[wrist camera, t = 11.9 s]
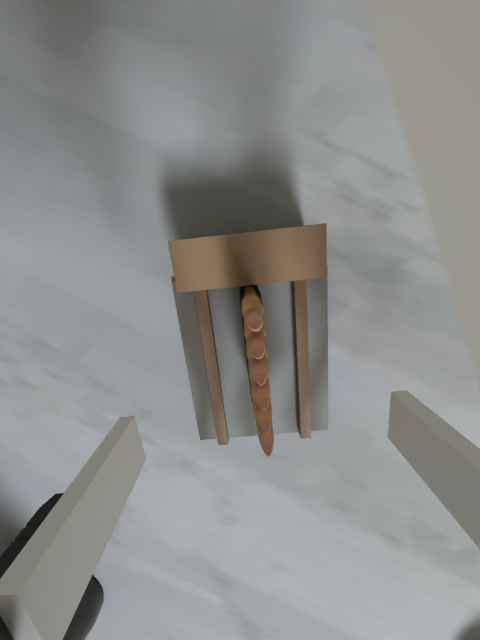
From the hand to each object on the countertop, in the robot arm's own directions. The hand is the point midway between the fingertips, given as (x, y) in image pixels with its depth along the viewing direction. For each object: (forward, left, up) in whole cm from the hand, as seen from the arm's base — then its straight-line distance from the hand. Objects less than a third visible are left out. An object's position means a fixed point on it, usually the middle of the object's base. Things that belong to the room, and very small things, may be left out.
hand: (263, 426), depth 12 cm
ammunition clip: (0, 0, -14) cm, 14 cm away
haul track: (0, -2, -15) cm, 15 cm away
